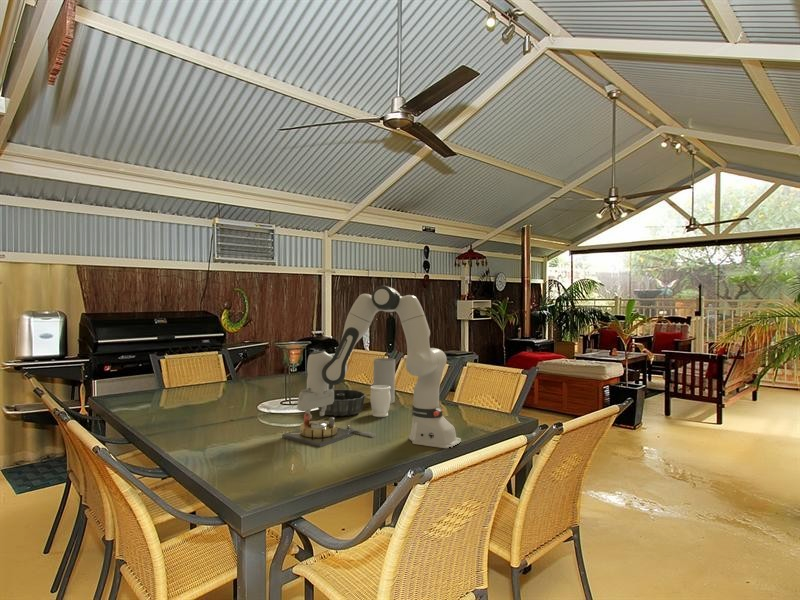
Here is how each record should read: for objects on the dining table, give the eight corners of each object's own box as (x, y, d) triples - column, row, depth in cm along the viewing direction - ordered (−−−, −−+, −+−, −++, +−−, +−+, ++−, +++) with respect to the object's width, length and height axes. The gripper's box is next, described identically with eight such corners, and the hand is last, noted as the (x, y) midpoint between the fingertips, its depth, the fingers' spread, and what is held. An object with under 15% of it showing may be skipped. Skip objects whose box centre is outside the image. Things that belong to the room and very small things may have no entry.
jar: (391, 413, 251) (391, 385, 251) (389, 418, 241) (389, 388, 241) (371, 412, 252) (372, 384, 252) (368, 417, 242) (368, 388, 242)
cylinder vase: (375, 405, 270) (376, 361, 270) (371, 400, 282) (371, 358, 282) (396, 404, 273) (397, 360, 273) (391, 399, 285) (392, 358, 285)
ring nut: (338, 426, 217) (338, 411, 217) (336, 437, 201) (336, 420, 201) (302, 427, 216) (302, 411, 215) (298, 437, 200) (298, 421, 200)
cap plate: (354, 434, 211) (354, 422, 211) (320, 447, 193) (320, 433, 193) (317, 426, 224) (317, 414, 223) (282, 437, 205) (282, 425, 205)
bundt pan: (369, 418, 241) (369, 398, 241) (316, 420, 235) (316, 400, 235) (361, 406, 267) (362, 388, 267) (314, 408, 261) (314, 389, 261)
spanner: (376, 436, 210) (376, 429, 210) (371, 437, 207) (371, 431, 207) (348, 430, 218) (348, 424, 218) (344, 431, 216) (344, 425, 216)
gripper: (304, 391, 205) (303, 423, 205) (336, 384, 222) (336, 414, 222) (294, 389, 209) (293, 420, 209) (326, 382, 225) (326, 412, 226)
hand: (315, 417), depth 215 cm, fingers open, 7 cm apart
